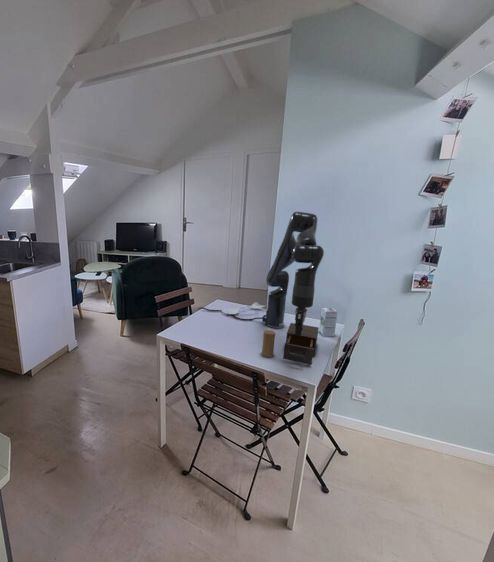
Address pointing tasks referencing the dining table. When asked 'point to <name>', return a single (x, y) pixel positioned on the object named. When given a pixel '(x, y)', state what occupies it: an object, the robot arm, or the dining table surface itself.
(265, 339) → the tan wooden cylinder
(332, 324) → the syrup box
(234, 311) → the spoon
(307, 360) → the drawer
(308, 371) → the dining table surface
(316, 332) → the cabinet
